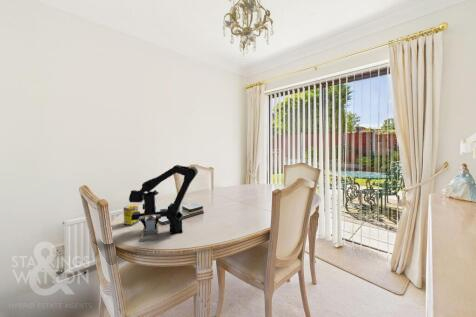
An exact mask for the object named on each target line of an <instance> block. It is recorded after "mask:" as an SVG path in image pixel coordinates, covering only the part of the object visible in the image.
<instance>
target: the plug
mask: <svg viewBox="0 0 476 317" xmlns="http://www.w3.org/2000/svg"><path fill="white" fill-rule="evenodd" d="M155 219H156V217H154V216H153V217H152V216H149V217H148V218H145V220H146V230H145V232H148V231H155V230H156V228H155Z"/></svg>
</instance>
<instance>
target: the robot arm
mask: <svg viewBox="0 0 476 317" xmlns="http://www.w3.org/2000/svg"><path fill="white" fill-rule="evenodd" d="M198 172H199V171H198V169H197V167H195V166H191V167H190V166H185V165H179V164H176V165H174V166H173V167H171V168H169V169H168V170H167V171H165V172H163V173H161V174H160V175H158V176H156V177H153V178H150V179H148V180H146V181H144V182H142V184H141V187H140V190H135V189H133V190H130V194H129V197H128V202H130V203H142V210H144V212H141V211H138V212H133V213H132V216H131V220H139V222H140V223H141V224H142V225H143V228H144V227H145V229H146V217H152V216H153V217H154V216H155V229H157V228H156V225H158V222H159V220H160V219H162V218H166V219H167V220H168V223H169V225H168V226H169V233H170V234H171V235H176V234H182V233H183V232H184V230H183V216H184V214H183V213H182V212H180V211H181V210H180V209H181V205H182V202H183V201H184V199H185V195H186V193H187V191H188V189H189V188H190V185H191V183H192V182H193V181H194V180H195V178H196V176H197V175H198ZM175 174H177V175H180V176H183V180H182V181H183V182H182V184H181V186H180V188H179V190H178V192H177V195H176V197H175V199H174V201H173V202H171V203H170V204H169V205H168V206H167V208H162V209H160V210H159V211H157V210H156V209H157V208H156V196H157V195H158V194H159V191H157V190H156V189H155V188H156V187H158V186H159V184H161V183H162V182H164V181H165V180H167V179H168V178H170V177H172V176H173V175H175ZM154 189H155V190H154Z"/></svg>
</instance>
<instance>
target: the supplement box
mask: <svg viewBox="0 0 476 317" xmlns="http://www.w3.org/2000/svg"><path fill="white" fill-rule="evenodd" d="M133 212H139V205H136V204H134V205H133V204H130V205H127V206H124V207H123V224H124V225H125V226H131V227H132V226H134V225H135V224H138V223H139V222H140V221H139V219H138V220H131V216H132V213H133Z"/></svg>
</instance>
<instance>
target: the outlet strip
mask: <svg viewBox="0 0 476 317" xmlns="http://www.w3.org/2000/svg"><path fill="white" fill-rule="evenodd" d="M154 234H155V236H148V235H154ZM144 236H147V237H144ZM139 239H140V242H141V241H142V242H149V241H155V240H158V239H159V224H157V225H156V228H155V231H148V232H146V229H145V227H144V226H143V228H142V230H141V236H140V238H139Z"/></svg>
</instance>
